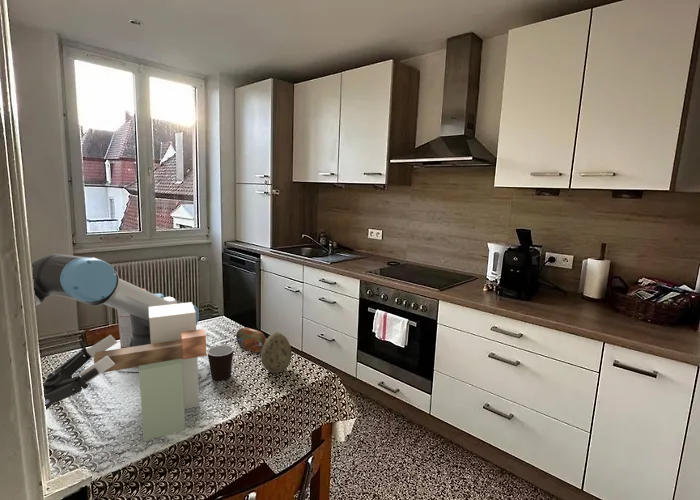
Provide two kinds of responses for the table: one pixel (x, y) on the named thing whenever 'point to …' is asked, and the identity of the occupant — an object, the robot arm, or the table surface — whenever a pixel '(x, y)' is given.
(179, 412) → the mint green upright block
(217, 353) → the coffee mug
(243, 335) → the tin
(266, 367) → the decorative egg
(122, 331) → the cracker box
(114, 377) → the table surface
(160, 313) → the tall white pillar
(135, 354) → the bar
